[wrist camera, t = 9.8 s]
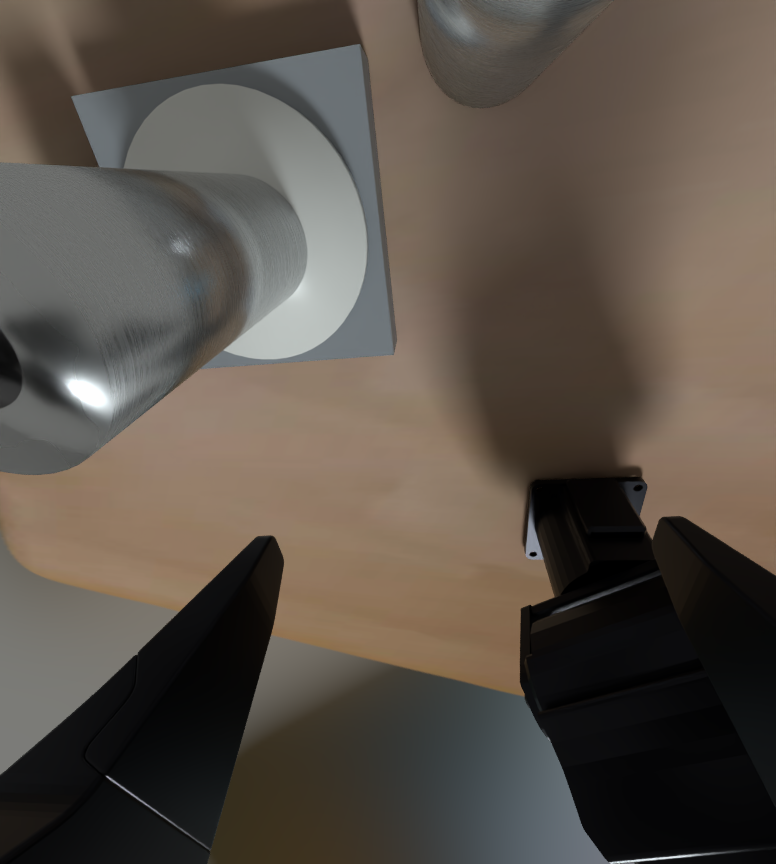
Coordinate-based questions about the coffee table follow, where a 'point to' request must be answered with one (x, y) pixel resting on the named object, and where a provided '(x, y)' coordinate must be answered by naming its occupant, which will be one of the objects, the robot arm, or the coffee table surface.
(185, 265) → the silver metal cylinder
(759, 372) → the coffee table surface
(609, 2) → the cylinder
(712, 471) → the coffee table surface
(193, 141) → the scale
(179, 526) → the coffee table surface
